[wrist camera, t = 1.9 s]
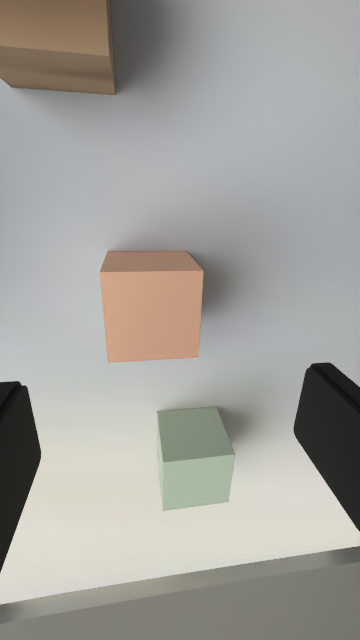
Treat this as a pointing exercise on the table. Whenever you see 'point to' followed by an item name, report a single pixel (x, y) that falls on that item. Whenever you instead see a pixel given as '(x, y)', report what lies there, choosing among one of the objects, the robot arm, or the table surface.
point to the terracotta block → (151, 305)
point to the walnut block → (57, 45)
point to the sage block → (193, 458)
